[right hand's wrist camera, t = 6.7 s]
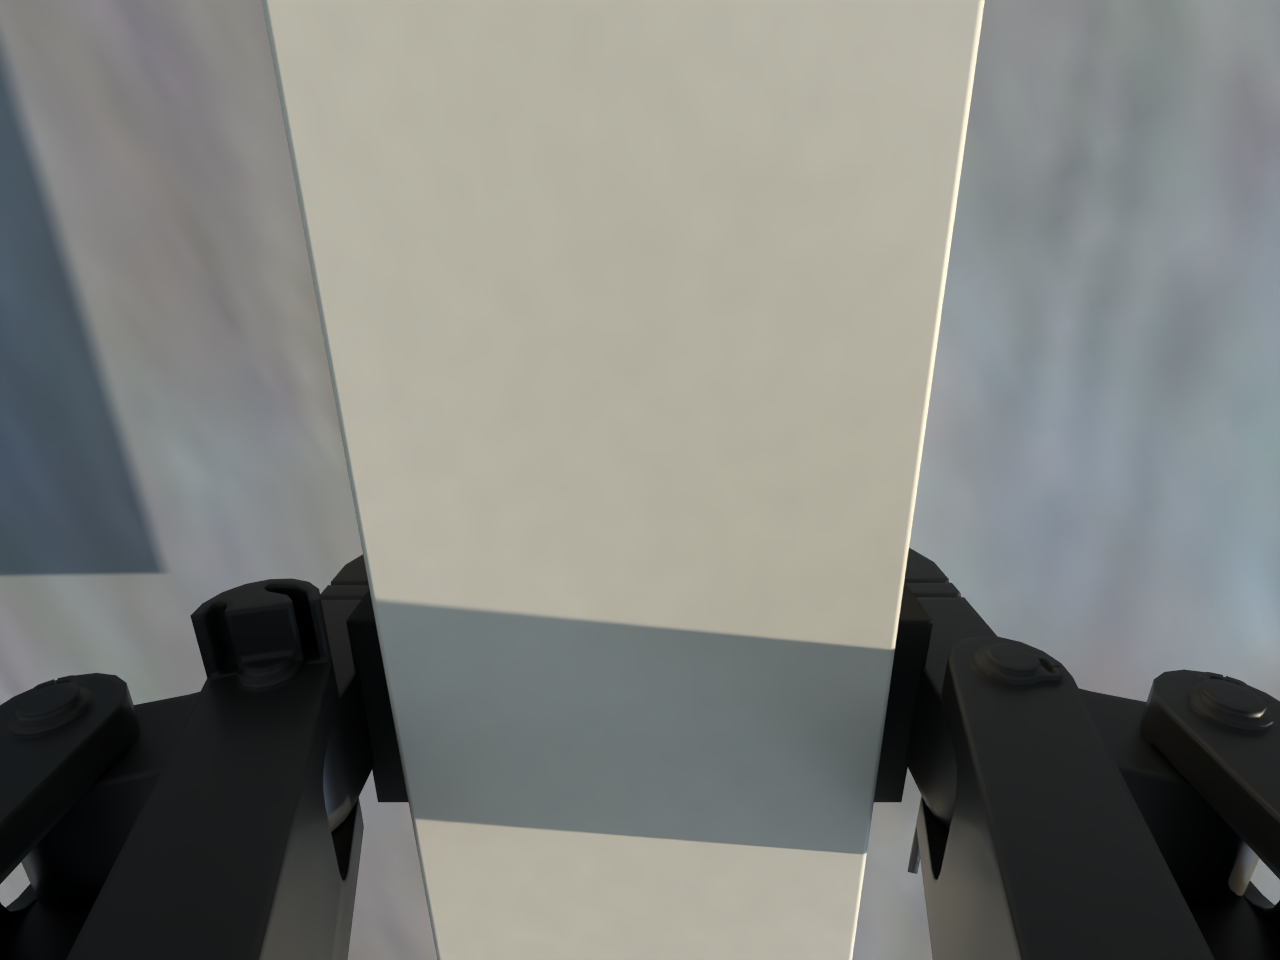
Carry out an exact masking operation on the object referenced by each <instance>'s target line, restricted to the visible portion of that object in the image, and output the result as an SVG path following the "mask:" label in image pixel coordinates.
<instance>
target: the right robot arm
mask: <svg viewBox="0 0 1280 960" xmlns="http://www.w3.org/2000/svg"><path fill="white" fill-rule="evenodd" d="M191 619H192V623H193V627H194V630H195V634H196V638H197V641H198V645H199V649H200V652H201V656H202V660H203V663H204V667H205V671H206V675H207V680H206V682H205V684H204V686H203V688H202V690H201V692H197V693H193V694H190V695H185V696H179V697H174V698H169V699H164V700H159V701H154V702H148V703H143V704H138V705H133V702H132V699H131V696H130V693H129V690H128V687H127V683H126V682H124V681H123V680H122V679H120V678H119V677H117V676H116V675H109V674H100V673H93V674H84V675H76V676H74V675H72V676H67V677H62V678H58V680H56V681H54V680H51V681H48V682H45V683H42V684H39V685H37V686H36V687H34V688H33V689H30V690H28V691H26V692H24V693H21V694H19V695H17V696H15V697H13V698H11V699H10V700H8V701H6V702H5V703H3V704H2V705H0V884H1V883H2V882H3V881H4V880H5V879H6V877H7V876H8V875H9V874H10V873H11V872H12V871H13V870H14V869H15V868H16V867H17V866H18V865H19V863H20V862H22V865H23V867H24V869H25V871H26V874H27V876H28V878H29V881H30V883H31V884H30V885H29V886H28V887H27V888H26V889H25V890H24V892H23V893H22V894H21V895H20V896H19V897H18V898H17V899H16V900H15V901H13V902H12V903H11V904H10V905H8V906H7V907H6V908H5V907H4V906H3V905H2V904H1V903H0V960H347V958H348V950H349V942H350V934H351V926H352V918H353V910H354V902H355V894H356V885H357V877H358V869H359V861H360V853H361V845H362V837H363V829H364V826H363V819H362V812H361V807H360V802H359V795H360V793H361V791H362V789H363V787H364V785H365V783H366V781H367V779H368V776H369V774H370V772H371V770H373V776H374V781H375V787H376V793H377V798H378V802H409V801H408V796H407V790H406V785H405V779H404V774H403V768H402V763H401V757H400V752H399V746H398V741H397V736H396V730H395V725H394V719H393V714H392V708H391V703H390V697H389V692H388V686H387V681H386V676H385V670H384V665H383V659H382V654H381V648H380V643H379V637H378V632H377V626H376V621H375V615H374V610H373V605H372V599H371V594H370V588H369V583H368V577H367V572H366V566H365V561H364V555H361V556H360V557H358V558H356V559H355V560H353V561H351V562H349V563H348V564H346V565H345V566H344V567H343V568H342V570H341V571H340V572H339V573H338V574H337V576H336V577H335V578H334V579H333V580H332V581H331V585H328V586H327V587H326V589H325V590H324V591H323V592H322V593H321V594H320V592H319V589H318V588H317V587H315V586H314V585H312V584H311V583H310V582H306V581H301V580H296V579H269V580H264V581H259V582H254V583H249V584H245V585H242V586H239V587H236V588H233V589H231V590H228V591H225V592H222V593H220V594H219V595H217V596H215V597H213V598H212V599H210V600H208V601H206V602H204V603H203V604H202V605H201V606H200V607H199V608H198V609H197V610H196V611H195V612H194V613H193V614H192V615H191ZM907 767H908V768H909V770H910V772H911V774H912V776H913V778H914V780H915V782H916V784H917V786H918V788H919V791H920V793H921V795H922V797H921V802H920V807H919V812H918V818H917V823H916V828H915V833H914V839H913V844H912V849H911V854H910V860H909V867H908V872H911V873H916V874H917V872H918V867H919V862H920V859H921V868H922V876H923V884H924V892H925V900H926V908H927V916H928V924H929V932H930V940H931V948H932V957H933V960H1280V901H1279V902H1278V903H1277V904H1276V905H1274V904H1272V903H1271V902H1270V901H1269V900H1268V899H1267V898H1266V897H1265V896H1263V895H1262V894H1261V892H1260V891H1259V890H1258V889H1257V888H1256V887H1255V886H1254V885H1253V883H1252V882H1251V881H1250V879H1251V876H1252V874H1253V872H1254V870H1255V867H1256V865H1257V863H1258V860H1259V858H1260V859H1261V860H1262V861H1263V862H1264V863H1265V864H1266V865H1267V866H1268V867H1269V869H1270V870H1271V871H1272V872H1273V873H1274V874H1275V875H1276V876H1277V877H1278V878H1279V879H1280V701H1278V700H1276V699H1275V698H1273V697H1272V696H1270V695H1268V694H1267V693H1265V692H1262V691H1260V690H1258V689H1255V688H1253V687H1251V686H1249V685H1247V684H1246V683H1244V682H1242V681H1240V680H1237V679H1234V678H1231V677H1228V676H1226V677H1223V675H1220V674H1215V673H1211V672H1198V671H1190V670H1178V671H1169V672H1164V673H1163V674H1161V675H1160V676H1158V677H1157V678H1156V679H1154V681H1153V684H1152V687H1151V690H1150V694H1149V697H1148V700H1147V702H1143V701H1137V700H1132V699H1127V698H1122V697H1117V696H1111V695H1106V694H1101V693H1096V692H1091V691H1087V690H1083V689H1079V688H1078V687H1077V685H1076V683H1075V681H1074V679H1073V677H1072V676H1071V675H1070V673H1069V672H1068V671H1067V670H1066V669H1065V667H1064V666H1063V665H1062V664H1061V663H1060V662H1058V661H1057V660H1055V659H1054V658H1052V657H1051V656H1049V655H1048V654H1046V653H1045V652H1043V651H1041V650H1039V649H1036V648H1034V647H1031V646H1029V645H1027V644H1024V643H1022V642H1018V641H1014V640H1010V639H1005V638H1001V637H997V635H996V634H995V633H994V632H993V631H992V630H991V628H990V627H989V626H988V625H987V624H986V623H985V621H984V620H983V619H982V618H981V617H980V616H979V614H978V613H977V612H976V611H975V610H974V609H973V607H972V606H971V605H970V604H969V603H968V601H967V600H966V599H965V598H964V597H961V593H960V592H959V591H958V590H957V589H956V587H955V586H954V585H953V584H952V583H949V579H948V578H947V577H946V576H945V574H944V573H943V572H942V571H941V570H940V569H939V567H938V566H937V565H936V564H935V563H934V562H933V561H931V560H929V559H928V558H926V557H924V556H922V555H921V554H919V553H917V552H916V551H914V550H912V549H910V548H909V550H908V557H907V565H906V572H905V579H904V586H903V594H902V601H901V608H900V615H899V623H898V630H897V637H896V644H895V651H894V659H893V666H892V673H891V680H890V688H889V695H888V702H887V709H886V717H885V724H884V731H883V738H882V745H881V753H880V760H879V767H878V774H877V782H876V789H875V796H874V802H901V801H902V795H903V790H904V784H905V778H906V773H907Z"/></svg>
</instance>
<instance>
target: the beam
mask: <svg viewBox="0 0 1280 960" xmlns="http://www.w3.org/2000/svg"><path fill="white" fill-rule="evenodd" d="M984 1H985V0H262V4H263V9H264V15H265V20H266V26H267V31H268V37H269V42H270V48H271V53H272V59H273V64H274V69H275V75H276V80H277V86H278V91H279V97H280V102H281V108H282V113H283V119H284V124H285V130H286V135H287V140H288V146H289V151H290V157H291V162H292V168H293V173H294V179H295V184H296V190H297V195H298V201H299V206H300V211H301V217H302V222H303V228H304V233H305V239H306V244H307V250H308V255H309V261H310V266H311V271H312V277H313V282H314V288H315V293H316V299H317V304H318V310H319V315H320V321H321V326H322V332H323V337H324V342H325V348H326V353H327V359H328V364H329V370H330V375H331V381H332V386H333V392H334V397H335V403H336V408H337V413H338V419H339V424H340V430H341V435H342V441H343V446H344V452H345V457H346V463H347V468H348V473H349V479H350V484H351V490H352V495H353V501H354V506H355V512H356V517H357V523H358V528H359V534H360V539H361V544H362V550H363V555H364V561H365V566H366V572H367V577H368V583H369V588H370V594H371V599H372V605H373V610H374V615H375V621H376V626H377V632H378V637H379V643H380V648H381V654H382V659H383V665H384V670H385V676H386V681H387V686H388V692H389V697H390V703H391V708H392V714H393V719H394V725H395V730H396V736H397V741H398V746H399V752H400V757H401V763H402V768H403V774H404V779H405V785H406V790H407V796H408V801H409V807H410V812H411V817H412V823H413V828H414V834H415V839H416V845H417V850H418V856H419V861H420V867H421V872H422V878H423V883H424V888H425V894H426V899H427V905H428V910H429V916H430V921H431V927H432V932H433V938H434V943H435V948H436V954H437V959H438V960H852V955H853V948H854V941H855V933H856V926H857V919H858V912H859V905H860V897H861V890H862V883H863V876H864V868H865V861H866V854H867V847H868V839H869V832H870V825H871V818H872V811H873V803H874V796H875V789H876V782H877V774H878V767H879V760H880V753H881V745H882V738H883V731H884V724H885V717H886V709H887V702H888V695H889V688H890V680H891V673H892V666H893V659H894V651H895V644H896V637H897V630H898V623H899V615H900V608H901V601H902V594H903V586H904V579H905V572H906V565H907V557H908V550H909V543H910V536H911V529H912V521H913V514H914V507H915V500H916V492H917V485H918V478H919V471H920V463H921V456H922V449H923V442H924V435H925V427H926V420H927V413H928V406H929V398H930V391H931V384H932V377H933V369H934V362H935V355H936V348H937V341H938V333H939V326H940V319H941V312H942V304H943V297H944V290H945V283H946V276H947V268H948V261H949V254H950V247H951V239H952V232H953V225H954V218H955V210H956V203H957V196H958V189H959V182H960V174H961V167H962V160H963V153H964V145H965V138H966V131H967V124H968V116H969V109H970V102H971V95H972V88H973V80H974V73H975V66H976V59H977V51H978V44H979V37H980V30H981V22H982V15H983V8H984Z"/></svg>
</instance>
